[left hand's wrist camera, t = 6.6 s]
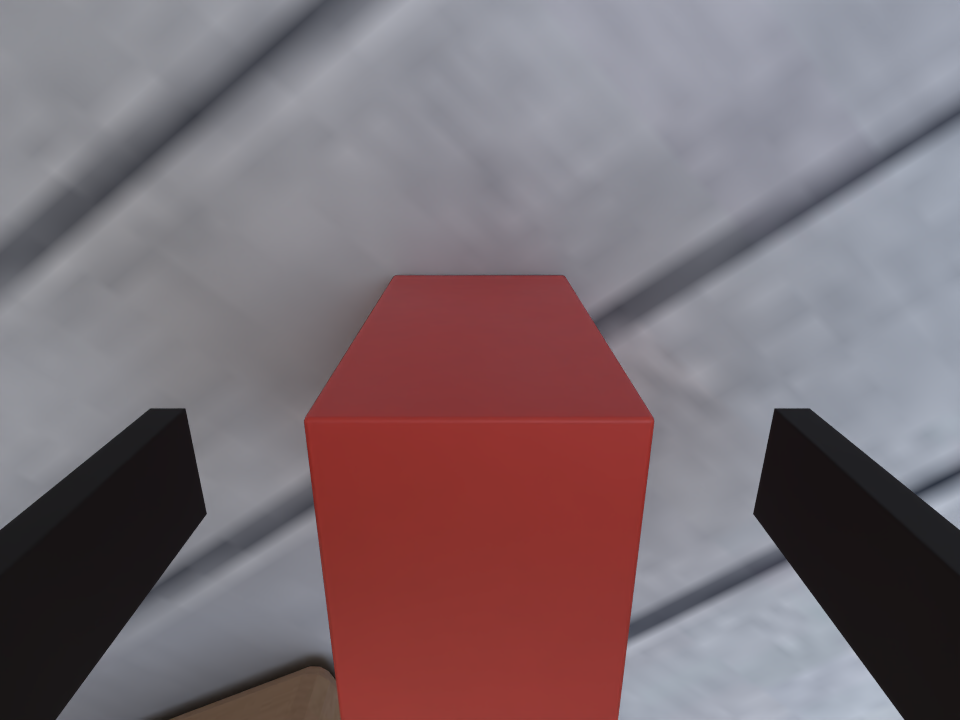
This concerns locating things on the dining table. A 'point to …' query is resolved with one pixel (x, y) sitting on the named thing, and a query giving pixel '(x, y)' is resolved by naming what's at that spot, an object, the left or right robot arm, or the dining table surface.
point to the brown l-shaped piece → (278, 700)
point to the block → (479, 504)
